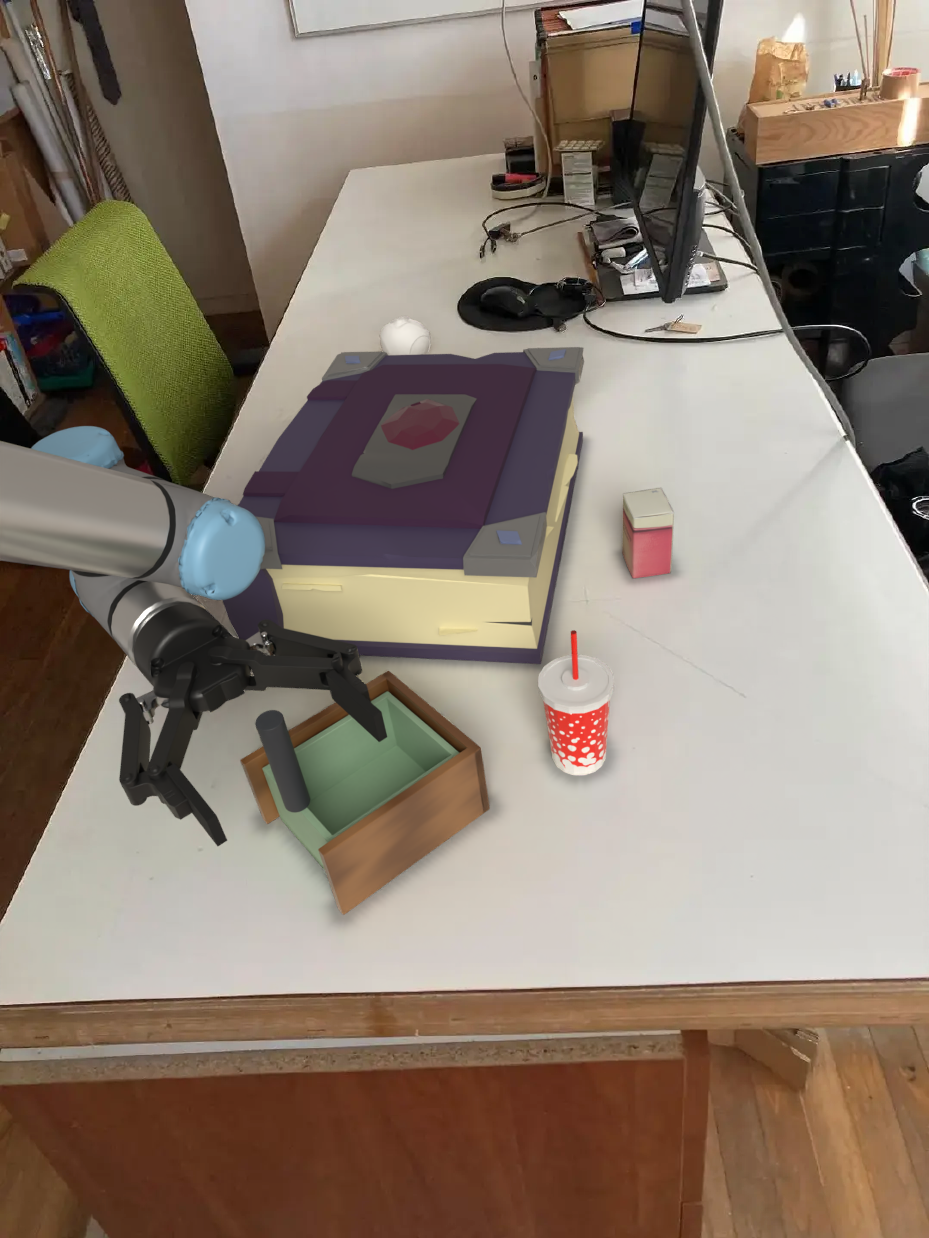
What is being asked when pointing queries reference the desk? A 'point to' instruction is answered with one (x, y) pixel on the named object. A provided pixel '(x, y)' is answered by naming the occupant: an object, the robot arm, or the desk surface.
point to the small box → (647, 532)
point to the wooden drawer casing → (390, 803)
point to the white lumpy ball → (405, 337)
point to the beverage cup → (577, 709)
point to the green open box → (345, 769)
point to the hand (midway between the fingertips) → (302, 777)
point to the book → (420, 505)
